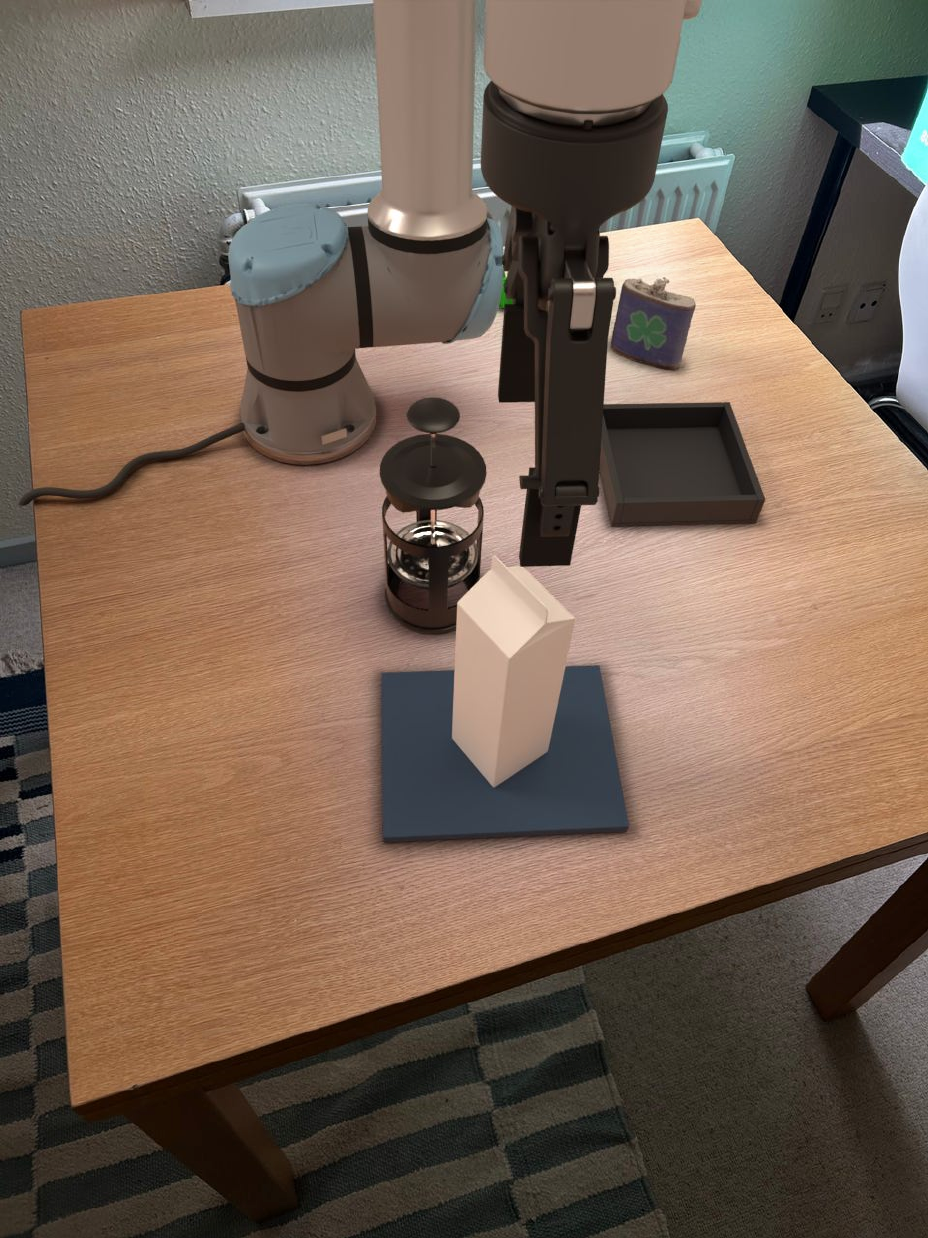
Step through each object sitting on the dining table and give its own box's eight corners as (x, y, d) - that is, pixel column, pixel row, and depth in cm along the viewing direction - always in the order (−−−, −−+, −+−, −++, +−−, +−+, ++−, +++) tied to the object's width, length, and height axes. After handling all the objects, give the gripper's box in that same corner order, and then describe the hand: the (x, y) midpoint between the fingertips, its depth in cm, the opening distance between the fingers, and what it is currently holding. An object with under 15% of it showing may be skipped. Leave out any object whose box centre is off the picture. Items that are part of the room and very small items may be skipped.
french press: (488, 635, 87) (503, 453, 69) (389, 644, 86) (378, 461, 68) (471, 544, 94) (480, 357, 76) (379, 551, 93) (367, 363, 75)
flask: (682, 362, 114) (703, 284, 105) (674, 375, 112) (694, 297, 104) (614, 338, 116) (629, 261, 108) (605, 351, 115) (619, 273, 106)
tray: (611, 526, 96) (616, 503, 94) (589, 428, 106) (594, 403, 103) (756, 523, 97) (765, 499, 94) (722, 425, 107) (729, 401, 104)
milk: (493, 789, 76) (512, 633, 59) (450, 737, 79) (455, 573, 61) (549, 751, 78) (583, 589, 61) (505, 702, 81) (525, 534, 64)
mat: (383, 843, 74) (382, 837, 73) (381, 678, 84) (381, 672, 83) (627, 831, 75) (629, 826, 74) (597, 671, 85) (599, 664, 84)
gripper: (746, 254, 29) (631, 643, 46) (618, -28, 45) (566, 342, 61) (513, 255, 29) (483, 648, 46) (464, -30, 44) (455, 344, 61)
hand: (531, 474), depth 54 cm, fingers open, 13 cm apart
